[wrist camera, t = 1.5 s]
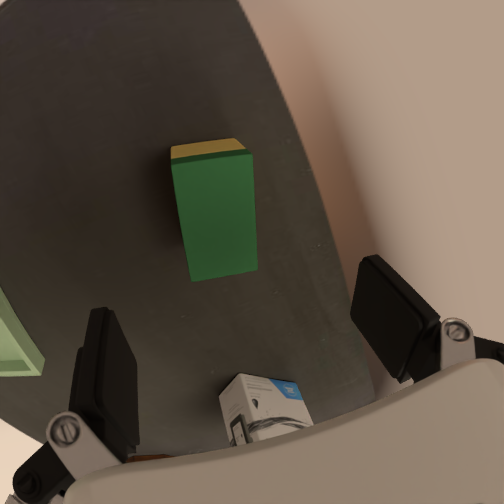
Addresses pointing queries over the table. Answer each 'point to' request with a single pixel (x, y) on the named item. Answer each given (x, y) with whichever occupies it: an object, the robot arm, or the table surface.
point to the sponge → (216, 207)
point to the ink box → (261, 409)
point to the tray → (16, 345)
